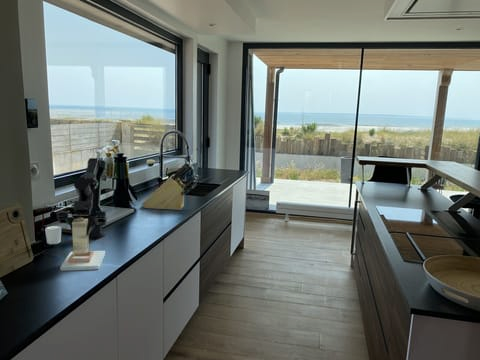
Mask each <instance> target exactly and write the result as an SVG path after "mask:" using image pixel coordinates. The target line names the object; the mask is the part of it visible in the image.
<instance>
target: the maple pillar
mask: <svg viewBox="0 0 480 360" xmlns="http://www.w3.org/2000/svg"><path fill="white" fill-rule="evenodd" d="M87 228H88V219H83V218H77V219H74V221H73V222H72V232H71V234H72V233H73V236H72V252H73V254H74V253H87V251H89V250H90V243H89V242H90V240H89V239H90V238H89V235H88V236H86V233H87Z"/></svg>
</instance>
